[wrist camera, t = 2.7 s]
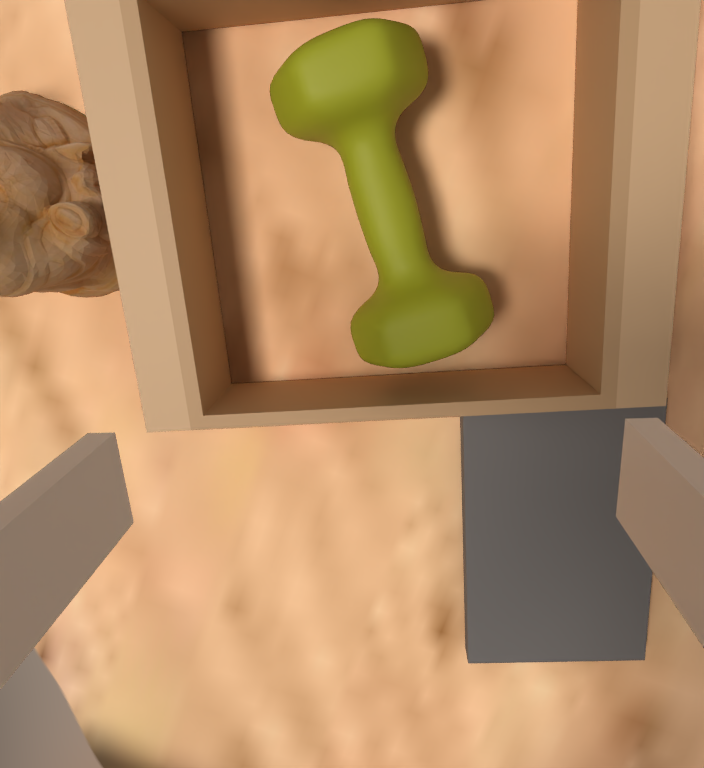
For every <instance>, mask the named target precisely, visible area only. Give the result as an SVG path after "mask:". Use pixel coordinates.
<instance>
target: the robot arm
mask: <svg viewBox="0 0 704 768" xmlns="http://www.w3.org/2000/svg"><path fill="white" fill-rule="evenodd" d="M616 517H617V519H618V520H619V522H620V523H621V525H622V526H623V528H624V529H625V531H626V532H627V534H628V535H629V537H630V538H631V540H632V541H633V543H634V544H635V546H636V547H637V549H638V550H639V552H640V553H641V555H642V556H643V558H644V559H645V561H646V562H647V564H648V565H649V567H650V568H651V570H652V571H653V573H654V574H655V576H656V577H657V579H658V580H659V582H660V583H661V585H662V586H663V588H664V589H665V591H666V592H667V594H668V595H669V597H670V598H671V600H672V601H673V603H674V604H675V606H676V607H677V609H678V610H679V612H680V613H681V615H682V616H683V618H684V619H685V621H686V622H687V624H688V625H689V627H690V628H691V630H692V631H693V633H694V634H695V636H696V637H697V639H698V640H699V642H700V643H701V645H702V646H703V648H704V458H703V457H702V456H701V455H700V454H699V453H698V452H696V451H695V450H694V449H693V448H692V447H691V446H690V445H688V444H687V443H686V442H685V441H684V440H683V439H682V438H680V437H679V436H678V435H677V434H676V433H675V432H674V431H672V430H671V429H670V428H669V427H668V426H667V425H665V424H664V423H663V422H662V421H661V420H660V419H659V418H629V419H625V427H624V437H623V447H622V458H621V468H620V479H619V489H618V499H617V510H616ZM133 523H134V522H133V517H132V512H131V507H130V503H129V498H128V493H127V488H126V483H125V479H124V474H123V469H122V464H121V460H120V455H119V450H118V445H117V440H116V436H115V433H87V434H86V435H85V436H84V437H82V438H81V439H80V440H78V441H77V442H76V443H75V444H73V445H72V446H71V447H70V448H68V449H67V450H66V451H64V452H63V453H62V454H61V455H59V456H58V457H57V458H55V459H54V460H53V461H52V462H50V463H49V464H48V465H47V466H45V467H44V468H43V469H41V470H40V471H39V472H38V473H36V474H35V475H34V476H32V477H31V478H30V479H29V480H27V481H26V482H25V483H23V484H22V485H21V486H20V487H18V488H17V489H16V490H15V491H13V492H12V493H11V494H9V495H8V496H7V497H6V498H4V499H3V500H2V501H0V690H1V688H2V687H3V686H4V685H5V683H6V682H7V681H8V679H9V678H10V677H11V676H12V675H13V673H14V672H15V671H16V670H17V668H18V667H19V666H20V664H21V663H22V662H23V661H24V659H25V658H26V657H27V656H28V654H29V653H30V652H31V651H32V649H33V648H34V647H35V646H36V644H37V643H38V642H39V641H40V639H41V638H42V637H43V636H44V634H45V633H46V632H47V631H48V629H49V628H50V627H51V626H52V624H53V623H54V622H55V621H56V619H57V618H58V617H59V616H60V614H61V613H62V612H63V611H64V609H65V608H66V607H67V606H68V604H69V603H70V602H71V600H72V599H73V598H74V597H75V595H76V594H77V593H78V592H79V590H80V589H81V588H82V587H83V585H84V584H85V583H86V582H87V580H88V579H89V578H90V577H91V575H92V574H93V573H94V572H95V570H96V569H97V568H98V567H99V565H100V564H101V563H102V562H103V560H104V559H105V558H106V557H107V555H108V554H109V553H110V552H111V550H112V549H113V548H114V547H115V545H116V544H117V543H118V541H119V540H120V539H121V538H122V536H123V535H124V534H125V533H126V531H127V530H128V529H129V528H130V526H131V525H132V524H133Z"/></svg>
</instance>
